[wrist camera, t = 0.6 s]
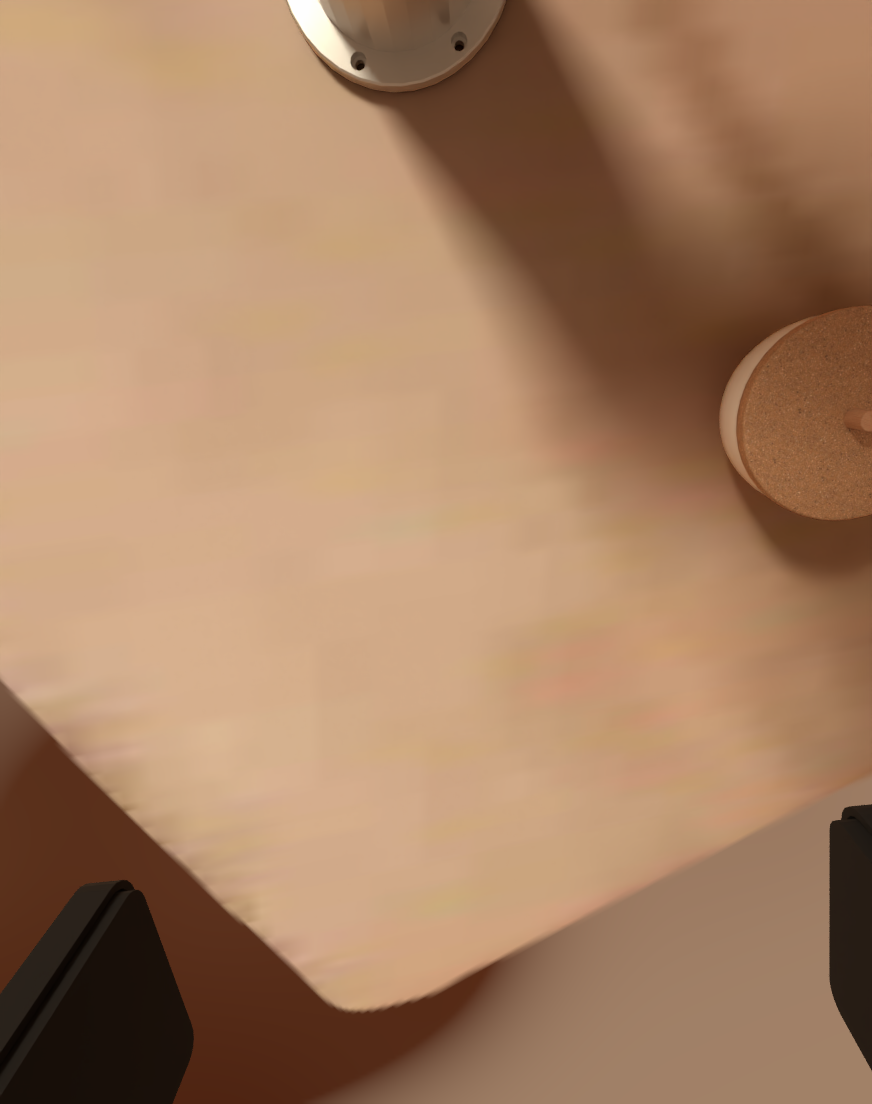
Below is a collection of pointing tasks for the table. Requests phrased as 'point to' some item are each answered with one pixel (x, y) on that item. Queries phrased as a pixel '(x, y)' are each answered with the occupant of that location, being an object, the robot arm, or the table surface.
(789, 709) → the table surface
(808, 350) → the lidded jar
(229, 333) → the table surface
